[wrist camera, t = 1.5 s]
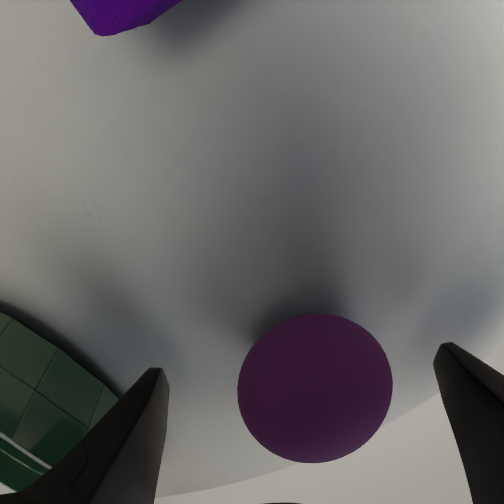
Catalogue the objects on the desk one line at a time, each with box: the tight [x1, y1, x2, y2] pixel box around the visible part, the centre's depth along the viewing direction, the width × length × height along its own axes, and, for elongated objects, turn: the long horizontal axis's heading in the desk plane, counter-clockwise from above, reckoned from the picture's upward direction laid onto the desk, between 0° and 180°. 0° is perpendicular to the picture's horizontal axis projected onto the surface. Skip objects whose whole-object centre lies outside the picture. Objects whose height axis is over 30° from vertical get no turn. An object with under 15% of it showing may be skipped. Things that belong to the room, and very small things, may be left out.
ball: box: [237, 314, 393, 463], centre depth 8 cm, size 4×4×4 cm
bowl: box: [0, 312, 119, 492], centre depth 10 cm, size 14×14×5 cm
